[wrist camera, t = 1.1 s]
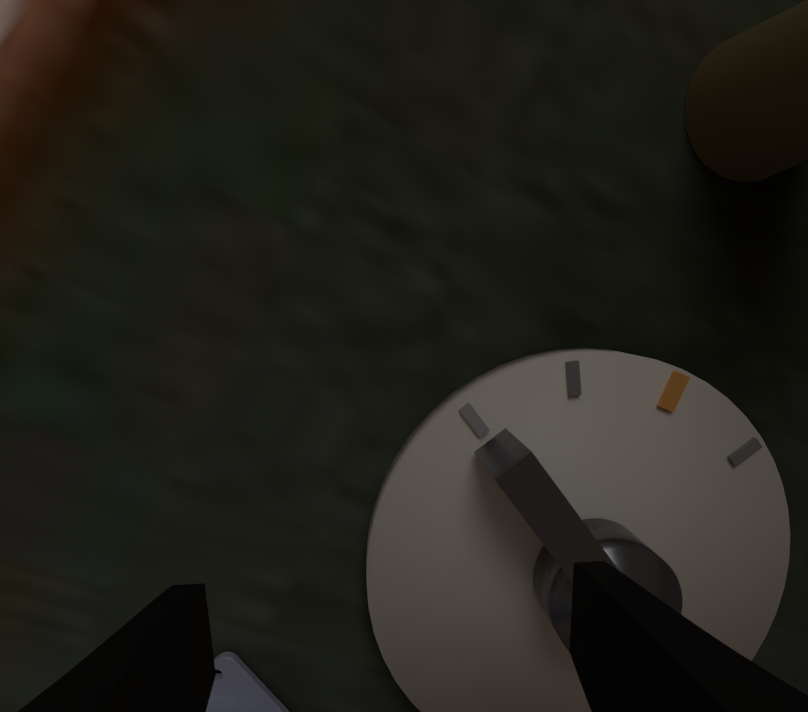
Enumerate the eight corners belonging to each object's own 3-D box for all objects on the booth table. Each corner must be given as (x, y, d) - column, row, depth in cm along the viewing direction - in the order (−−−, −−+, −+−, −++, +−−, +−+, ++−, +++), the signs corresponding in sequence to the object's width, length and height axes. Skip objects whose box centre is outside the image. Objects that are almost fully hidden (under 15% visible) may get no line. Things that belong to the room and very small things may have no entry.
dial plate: (522, 808, 24) (535, 846, 22) (277, 525, 21) (270, 545, 19) (829, 575, 24) (865, 596, 22) (626, 260, 21) (649, 257, 19)
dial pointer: (666, 580, 21) (717, 627, 18) (575, 650, 21) (610, 708, 18) (538, 402, 19) (571, 421, 16) (439, 477, 19) (454, 510, 16)
